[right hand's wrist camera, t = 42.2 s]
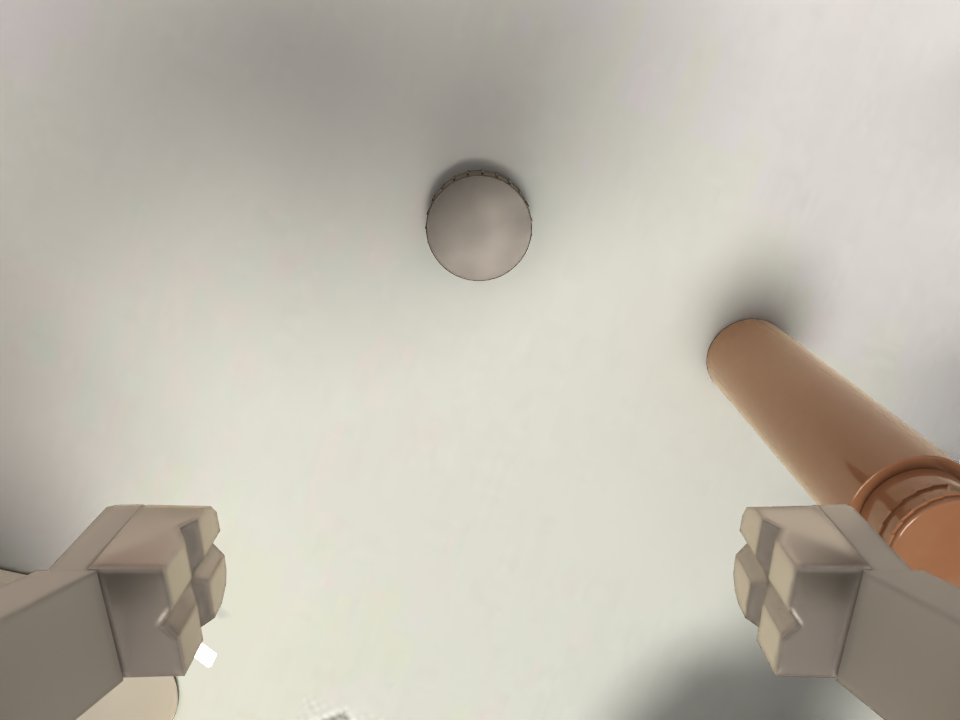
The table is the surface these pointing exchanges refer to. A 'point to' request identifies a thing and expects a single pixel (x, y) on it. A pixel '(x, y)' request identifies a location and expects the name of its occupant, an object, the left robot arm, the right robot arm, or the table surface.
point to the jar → (843, 443)
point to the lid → (478, 225)
